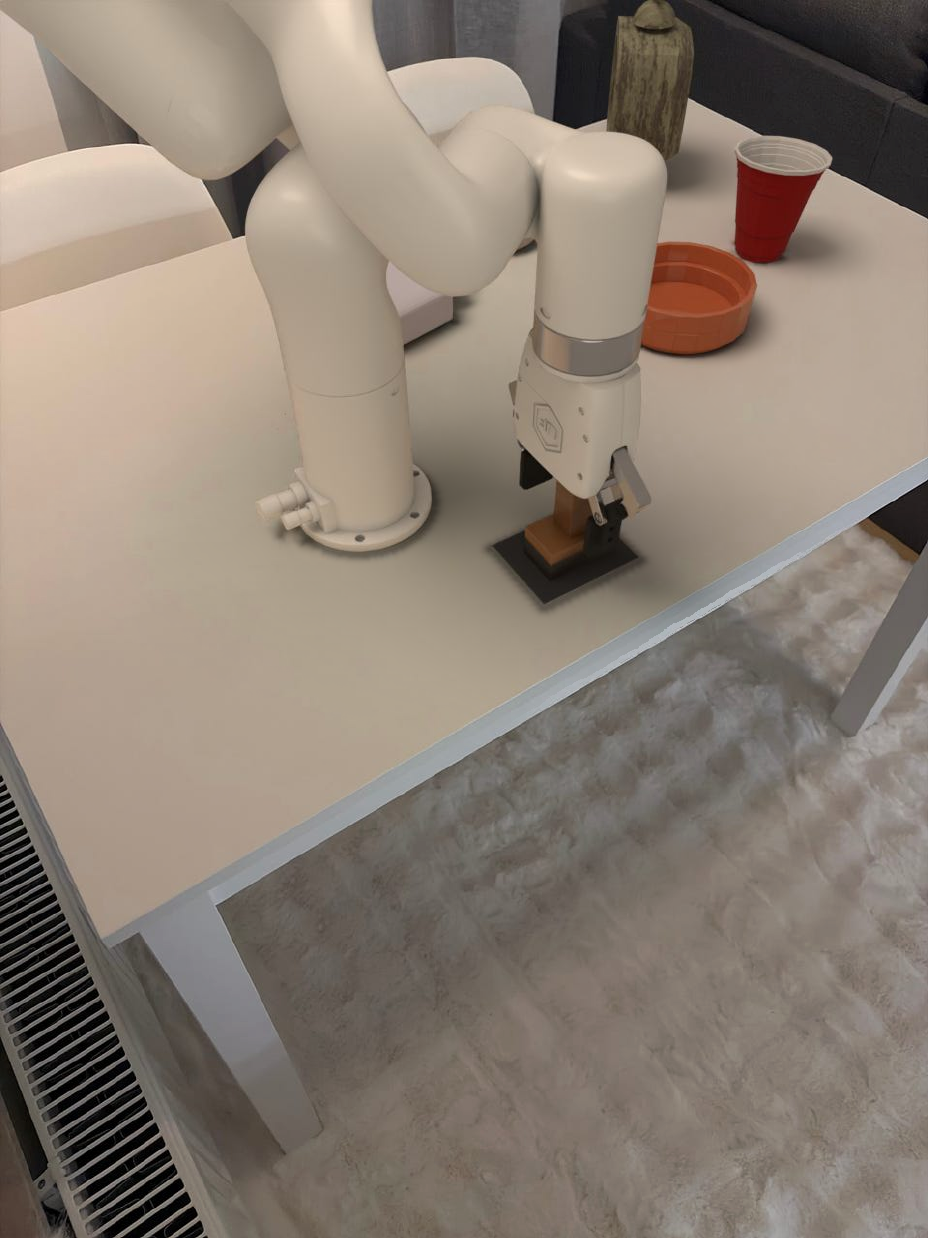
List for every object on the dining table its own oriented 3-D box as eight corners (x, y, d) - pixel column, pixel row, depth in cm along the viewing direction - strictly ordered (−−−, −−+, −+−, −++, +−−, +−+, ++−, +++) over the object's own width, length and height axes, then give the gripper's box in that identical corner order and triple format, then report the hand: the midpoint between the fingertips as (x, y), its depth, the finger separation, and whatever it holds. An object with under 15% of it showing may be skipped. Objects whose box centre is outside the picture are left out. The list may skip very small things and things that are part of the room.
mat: (543, 606, 76) (544, 603, 76) (492, 548, 81) (492, 545, 80) (638, 560, 80) (638, 556, 79) (583, 506, 84) (584, 502, 84)
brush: (549, 581, 78) (556, 502, 71) (523, 552, 80) (527, 472, 73) (615, 549, 80) (628, 469, 73) (588, 522, 82) (598, 441, 75)
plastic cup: (817, 242, 113) (847, 141, 104) (786, 282, 107) (815, 179, 98) (733, 219, 117) (755, 120, 108) (700, 257, 111) (720, 156, 102)
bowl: (668, 374, 96) (675, 332, 93) (582, 306, 105) (586, 266, 101) (774, 329, 101) (786, 288, 98) (685, 268, 110) (692, 228, 106)
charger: (493, 302, 106) (393, 355, 99) (440, 272, 110) (341, 320, 104) (493, 264, 102) (389, 316, 96) (438, 234, 106) (336, 282, 100)
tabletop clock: (603, 149, 130) (625, -64, 111) (667, 151, 129) (701, -63, 110) (603, 197, 121) (626, -25, 102) (672, 200, 120) (709, -23, 101)
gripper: (474, 290, 67) (474, 471, 80) (621, 419, 57) (593, 599, 71) (558, 261, 69) (544, 441, 82) (713, 380, 60) (669, 561, 73)
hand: (567, 513), depth 76 cm, fingers open, 8 cm apart
